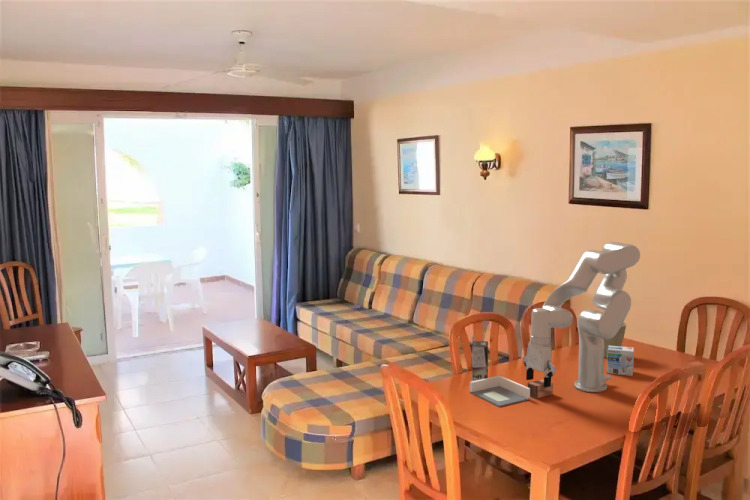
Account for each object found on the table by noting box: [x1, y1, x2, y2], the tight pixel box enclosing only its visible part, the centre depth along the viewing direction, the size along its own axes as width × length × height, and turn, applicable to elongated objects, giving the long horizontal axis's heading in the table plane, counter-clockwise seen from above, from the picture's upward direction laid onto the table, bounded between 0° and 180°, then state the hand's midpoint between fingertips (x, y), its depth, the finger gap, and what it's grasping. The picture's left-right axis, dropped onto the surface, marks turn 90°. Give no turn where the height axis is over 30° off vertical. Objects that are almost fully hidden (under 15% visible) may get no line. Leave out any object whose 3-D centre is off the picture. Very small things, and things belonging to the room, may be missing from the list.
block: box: [527, 378, 554, 400], centre depth 251 cm, size 9×4×5 cm, turn 118°
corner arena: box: [469, 374, 531, 408], centre depth 251 cm, size 15×18×4 cm
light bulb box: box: [606, 345, 635, 377], centre depth 276 cm, size 11×7×11 cm, turn 68°
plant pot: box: [603, 321, 627, 359], centre depth 299 cm, size 15×15×16 cm
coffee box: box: [471, 340, 489, 381], centre depth 268 cm, size 9×6×16 cm
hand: (538, 383), depth 251 cm, fingers open, 9 cm apart
